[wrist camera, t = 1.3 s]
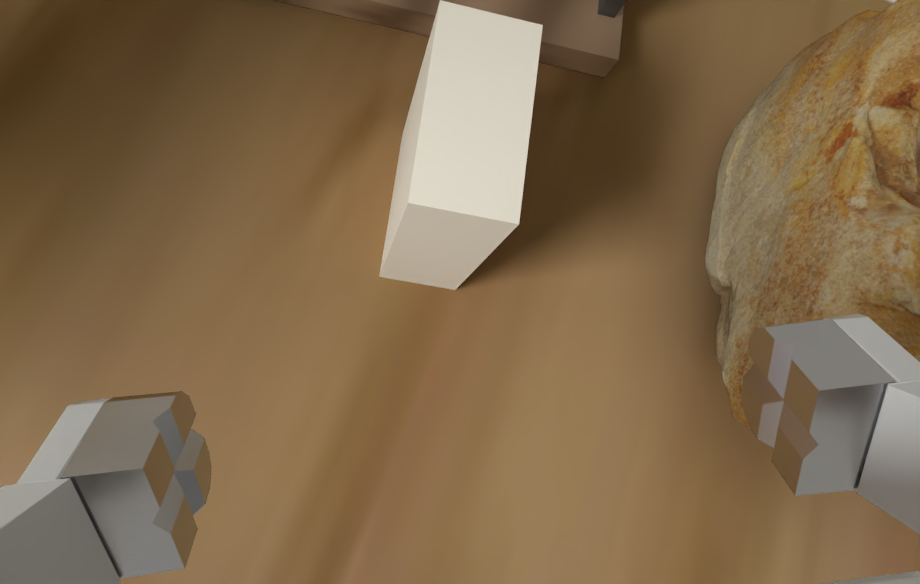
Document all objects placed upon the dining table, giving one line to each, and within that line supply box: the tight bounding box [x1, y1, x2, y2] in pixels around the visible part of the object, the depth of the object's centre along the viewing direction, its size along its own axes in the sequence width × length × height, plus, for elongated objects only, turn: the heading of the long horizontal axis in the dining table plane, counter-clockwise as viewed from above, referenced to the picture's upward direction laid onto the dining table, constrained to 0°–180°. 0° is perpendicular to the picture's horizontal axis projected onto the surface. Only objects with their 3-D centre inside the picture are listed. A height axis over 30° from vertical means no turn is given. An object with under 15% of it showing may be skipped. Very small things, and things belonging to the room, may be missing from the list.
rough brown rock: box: [705, 0, 920, 427], centre depth 34 cm, size 23×17×15 cm
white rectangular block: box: [379, 0, 543, 290], centre depth 31 cm, size 4×8×12 cm, turn 172°
